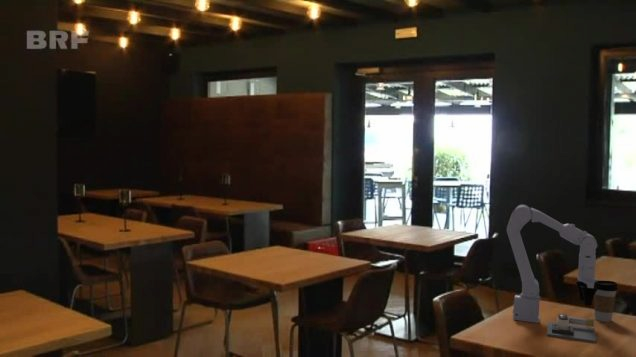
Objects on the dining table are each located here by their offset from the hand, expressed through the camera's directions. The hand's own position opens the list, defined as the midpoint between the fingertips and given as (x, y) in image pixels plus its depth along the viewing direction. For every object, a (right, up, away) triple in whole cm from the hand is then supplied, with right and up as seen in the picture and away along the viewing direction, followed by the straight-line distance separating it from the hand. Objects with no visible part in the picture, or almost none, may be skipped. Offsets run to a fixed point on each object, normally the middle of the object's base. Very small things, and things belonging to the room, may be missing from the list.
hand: (585, 302), depth 229 cm
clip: (-5, -7, -4) cm, 10 cm away
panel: (-9, -9, -8) cm, 15 cm away
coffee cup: (+11, -9, +10) cm, 17 cm away
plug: (-12, -9, -9) cm, 18 cm away
